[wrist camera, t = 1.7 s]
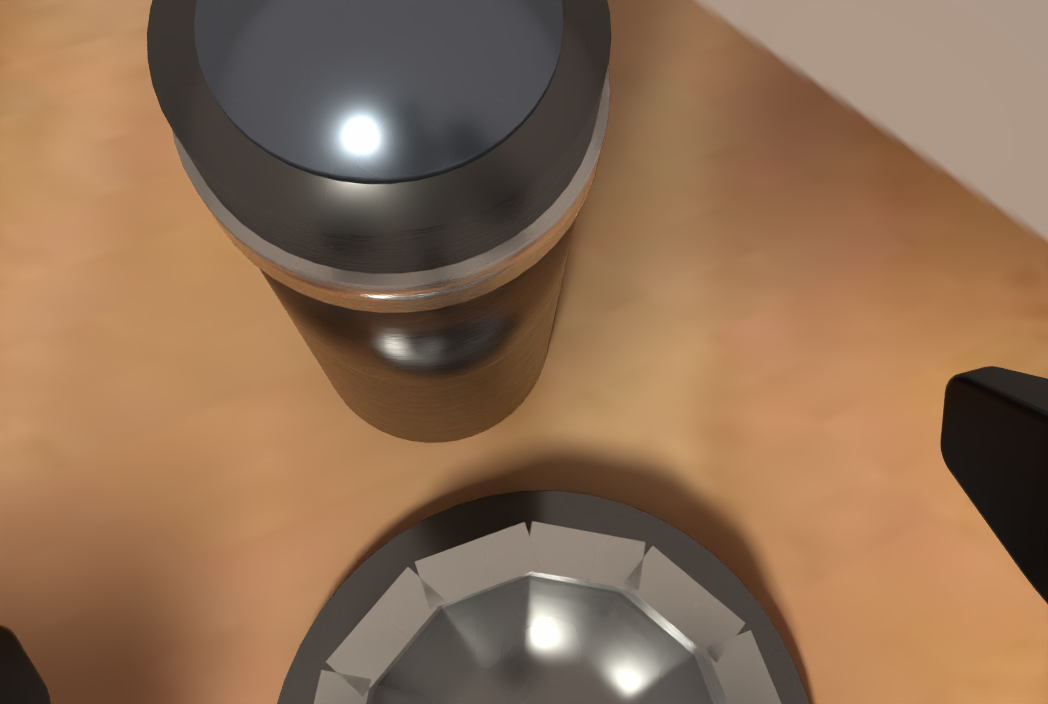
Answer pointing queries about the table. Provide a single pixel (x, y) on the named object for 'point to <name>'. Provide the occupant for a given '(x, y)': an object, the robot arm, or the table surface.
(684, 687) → the mount ring
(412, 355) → the lens
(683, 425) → the table surface
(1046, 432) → the robot arm
